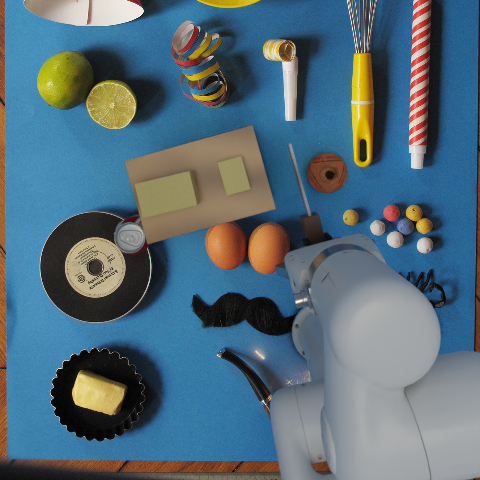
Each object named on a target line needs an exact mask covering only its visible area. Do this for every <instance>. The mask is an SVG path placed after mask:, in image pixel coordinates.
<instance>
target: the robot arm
mask: <svg viewBox="0 0 480 480" xmlns="http://www.w3.org/2000/svg"><path fill="white" fill-rule="evenodd" d="M323 232H324V231H323ZM324 235H325V240H326V241H325V242H322V243H318V244H314V245H311V243H310V241H309V240H308V239H307V238H306V237H302V238H301V240H302V245H301V246H299V247H298V249H293V250H291V251H289V252H287V253H286V254H285V256H284V257H283V262H280V263H277V264H276V265H275V270H276V273H277V276H278V277H281V278H284V279H287V280H289V281H288V283H289V285H290V288H291V291H292V293H293V294H292V296H293V299H294V303H295V306H296V309H300V310H299V311H298V312H297V314H296V315H295V317H294V319H293V322H292V326H291V337H292V342H293V345H294V346H295V349H296V350H297V351H298V352H299V354H300V355H301V356H302V357H303V358H304V359H305V360H306V364H307V368H308V371H309V375H310V378H311V380H310V381H305V382H302V383H296V384H292V385H288V386H284V387H282V388H279V389H278V390H276V391H274V393H273V394H272V396H271V398H270V400H269V401H270V402H269V417H270V418H269V419H270V424H271V429H272V430H271V431H272V435H273V436H272V437H273V442H274V448H275V453H276V458H277V463H278V469H279V473H280V479H281V480H473V479H478V478H480V352H479V351H473V350H457V351H452V352H446V353H442V354H439V352H440V348H441V341H442V334H441V333H442V332H441V323H440V321H439V318H438V315H437V312H436V310H435V308H434V306H433V304H432V303H431V302H430V300H429V299H428V298H427V296H426V295H425V293H423V292H422V291H421V290H420V289H419V288H418V287H416V286H415V285H414V284H413V283H411V282H410V281H409V280H407V279H406V278H405V277H403V276H402V275H401V274H400V273H398V272H397V271H395V270H394V269H393V268H391V267H390V266H389V265H388V264H387V262H386V260H385V258H384V255H383V254H382V252H381V250H380V249H379V247H378V245H377V243H376V240H375V238H370V237H369V236H367V235H365V234H363V233H353V234H349V235H344V236H342V237H341V236H336V237H335V236H334V237H333V236H332V235H331V234H330V233H329V232H328V231H325V232H324ZM323 462H326V463H327V465H328V468H329V470H330V472H331V473H328V474H321V473H319V472H317V471H316V470H315V468H314V467H313V466H314V465H313V464H319V463H323Z"/></svg>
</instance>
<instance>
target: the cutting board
mask: <svg viewBox="0 0 480 480" xmlns="http://www.w3.org/2000/svg"><path fill="white" fill-rule="evenodd" d="M238 156H242V158H243V162H244V165H245V169H246V173H247V176H248V180H249V183H250V187H251V189H250V190H247V191H243V192H239V193H236V194H232V195H229V196H226V192H225V188H224V185H223V181H222V178H221V174H220V171H219V167H218V162H221V161H224V160H228V159H231V158H235V157H238ZM124 166H125V169H126V172H127V175H128V176H127V177H128V179H129V182H130V183H129V184H130V187H131V190H132V195H133V197H134V201H135V204H136V208H137V211H138V212H139V215H140V219H141V223H142V226H143V230H144V233H145V237H146V240H147V244H151V243H152V244H154V243H158V242H161V241H165V240H169V239H171V238H173V239H174V238H176V237H179V236H183V235H187V234H192V233H194V232H198V231H201V230H205V229H210V228H213V227H216V226H220V225H223V224H226V223H230V222H234V221H237V220H242V219H245V218H249V217H252V216H256V215H260V214H263V213H266V212H270V211H273V210H276V209H277V206H276V203H275V200H274V196H273V192H272V189H271V185H270V182H269V178H268V173H267V171H266V167H265V164H264V161H263V157H262V154H261V150H260V146H259V142H258V138H257V135H256V132H255V128H254V125H253V124H251V125H248V126H247V125H246V126H244V127H240V128H236V129H233V130H229V131H225V132H222V133H219V134H215V135H212V136H209V137H204V138H200V139H198V140H195V141H190V142H187V143H184V144H183V143H182V144H179V145H177V146H173V147H169V148H165V149H162V150H159V151H155V152H152V153H148V154H144V155H140V156H137V157H134V158H129V159H127V160H124ZM191 170H193V173H194V178H195V182H196V186H197V190H198V194H199V198H200V203H199V204H198V205H197V206H193V207H189V208H184V209H180V210H176V211H172V212H167V213H163V214H159V215H155V216H151V217H146V218H143V217H142V213H141V209H140V205H139V201H138V196H137V192H136V188H135V184H137V183H141V182H145V181H149V180H153V179H157V178H162V177H166V176H170V175H174V174H178V173H182V172H187V171H191ZM138 212H137V213H138ZM152 244H151V245H152Z"/></svg>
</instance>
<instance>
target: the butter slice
mask: <svg viewBox="0 0 480 480" xmlns="http://www.w3.org/2000/svg"><path fill="white" fill-rule="evenodd" d="M218 167H219V171H220V174H221V178H222V181H223V185H224V188H225V192H226V196H229V195H232V194H236V193H239V192H243V191H247V190H250V189H251V187H250V183H249V180H248V176H247V173H246V169H245V165H244V162H243V158H242V156H238V157H235V158H231V159H228V160H224V161H221V162H218Z"/></svg>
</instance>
